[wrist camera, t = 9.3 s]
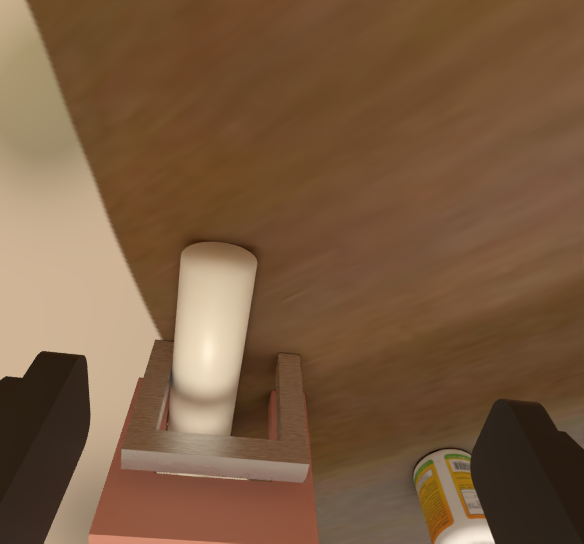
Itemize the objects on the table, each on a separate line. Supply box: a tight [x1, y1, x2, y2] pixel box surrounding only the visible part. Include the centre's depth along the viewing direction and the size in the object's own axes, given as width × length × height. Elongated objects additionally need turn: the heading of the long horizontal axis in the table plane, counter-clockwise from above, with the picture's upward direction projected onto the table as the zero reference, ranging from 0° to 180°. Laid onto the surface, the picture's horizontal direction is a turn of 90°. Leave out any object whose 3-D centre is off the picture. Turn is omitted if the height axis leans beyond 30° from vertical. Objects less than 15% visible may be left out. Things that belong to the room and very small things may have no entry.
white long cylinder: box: [166, 242, 257, 477], centre depth 34 cm, size 16×5×5 cm
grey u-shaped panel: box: [121, 340, 310, 483], centre depth 32 cm, size 10×2×10 cm, turn 80°
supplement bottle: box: [414, 449, 495, 544], centre depth 39 cm, size 5×5×10 cm
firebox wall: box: [89, 378, 319, 544], centre depth 33 cm, size 12×4×12 cm, turn 80°
